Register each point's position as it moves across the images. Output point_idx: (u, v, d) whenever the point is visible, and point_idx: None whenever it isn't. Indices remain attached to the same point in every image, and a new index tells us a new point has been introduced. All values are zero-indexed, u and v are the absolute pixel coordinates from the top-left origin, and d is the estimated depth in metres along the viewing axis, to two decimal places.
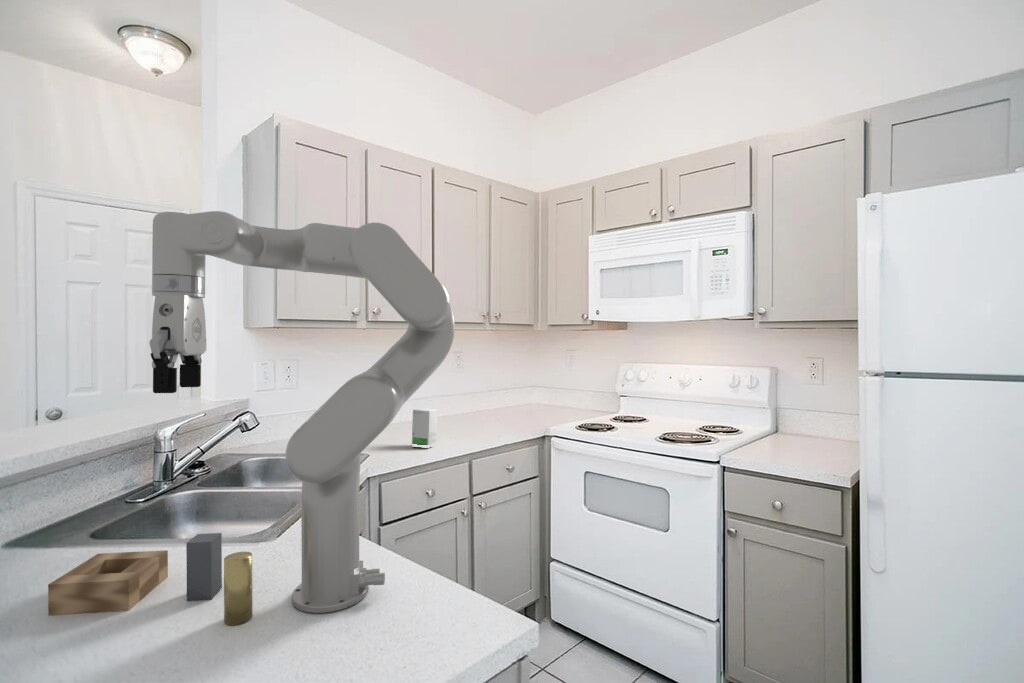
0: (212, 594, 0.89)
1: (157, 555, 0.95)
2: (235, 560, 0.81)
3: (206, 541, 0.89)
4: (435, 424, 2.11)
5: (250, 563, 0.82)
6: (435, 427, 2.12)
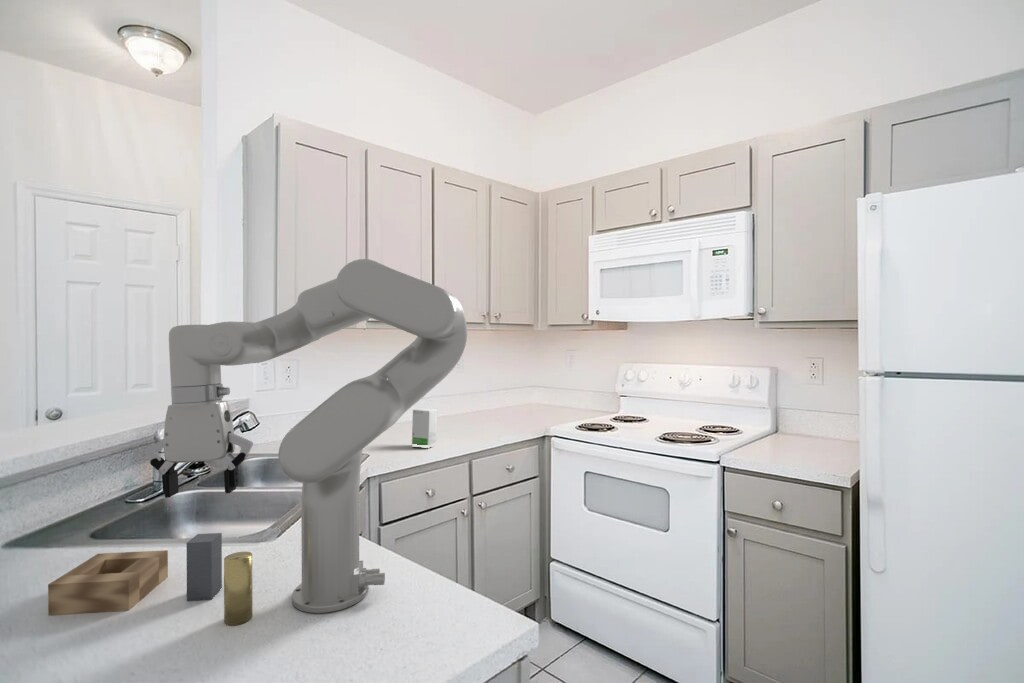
0: (212, 594, 0.89)
1: (157, 555, 0.95)
2: (234, 560, 0.81)
3: (206, 541, 0.89)
4: (435, 424, 2.11)
5: (250, 563, 0.82)
6: (435, 427, 2.12)
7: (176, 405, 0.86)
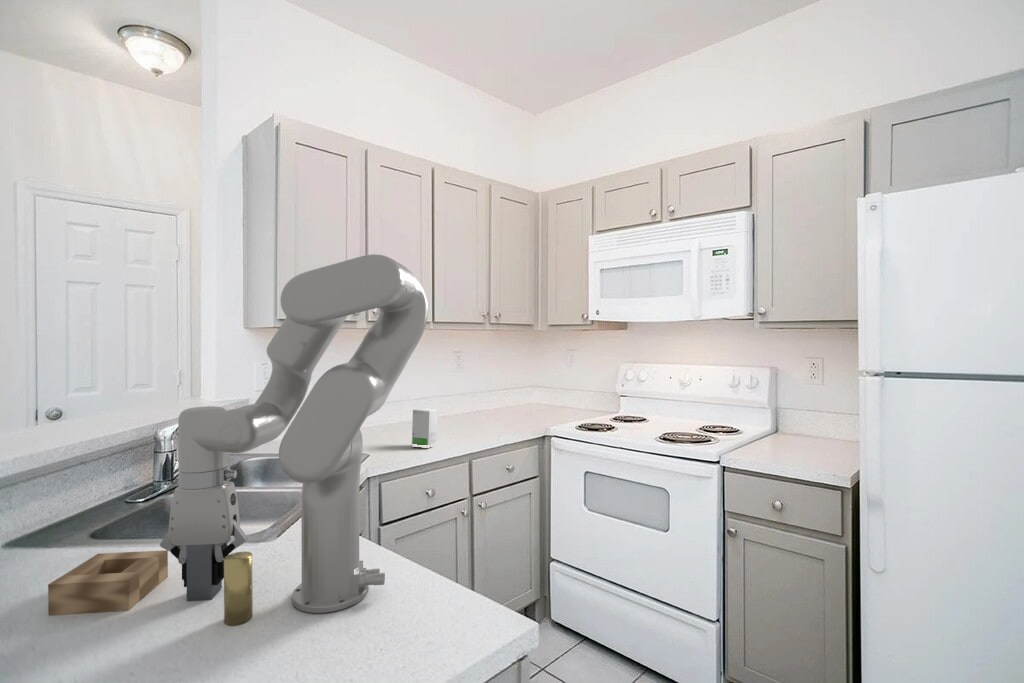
0: (212, 594, 0.89)
1: (157, 555, 0.95)
2: (234, 560, 0.81)
3: None
4: (435, 424, 2.11)
5: (250, 563, 0.82)
6: (435, 427, 2.12)
7: (183, 491, 0.87)
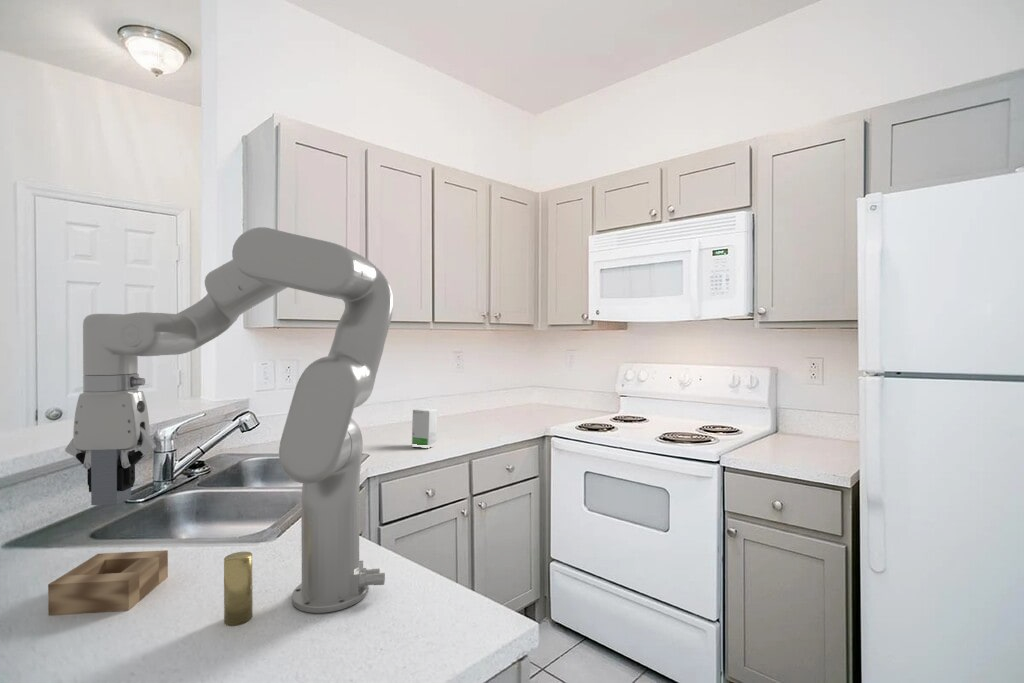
0: (117, 499, 0.89)
1: (157, 555, 0.95)
2: (234, 560, 0.81)
3: None
4: (435, 424, 2.11)
5: (250, 563, 0.82)
6: (435, 427, 2.12)
7: (86, 393, 0.86)
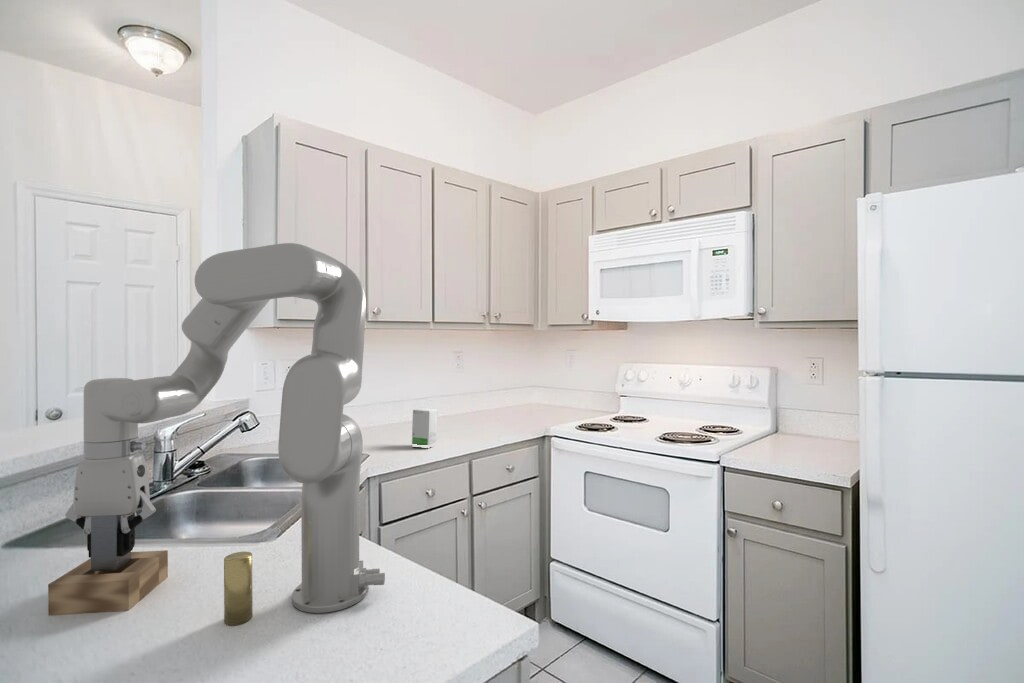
0: (117, 564, 0.89)
1: (157, 555, 0.95)
2: (234, 560, 0.81)
3: None
4: (435, 424, 2.11)
5: (250, 563, 0.82)
6: (435, 427, 2.12)
7: (87, 461, 0.86)
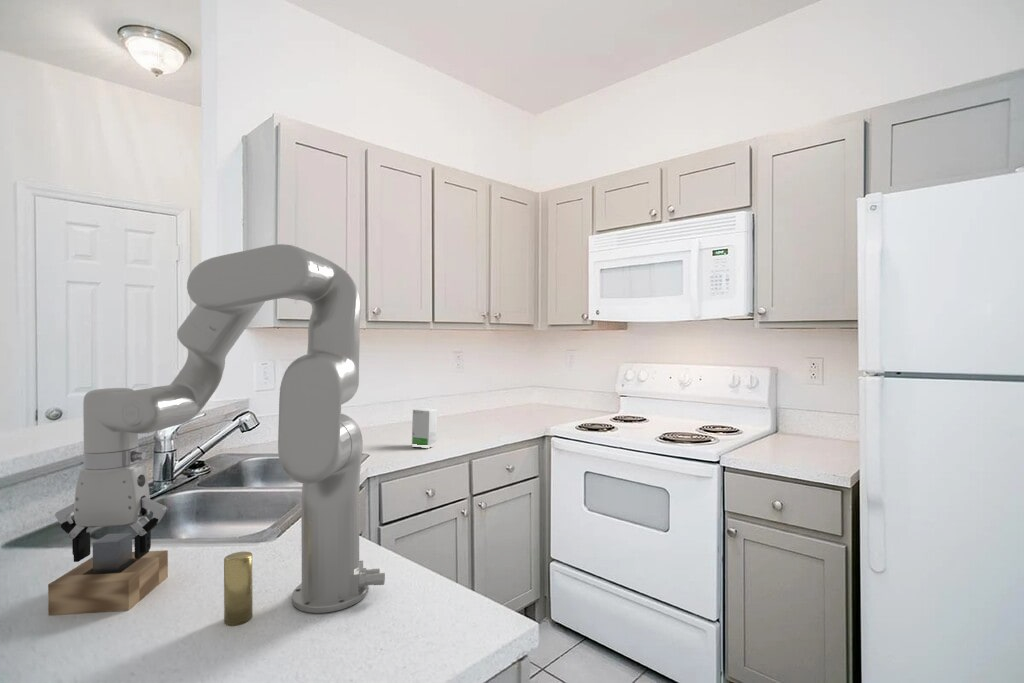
0: None
1: (157, 555, 0.95)
2: (235, 560, 0.81)
3: (112, 541, 0.89)
4: (435, 424, 2.11)
5: (250, 563, 0.82)
6: (435, 427, 2.12)
7: (87, 471, 0.86)
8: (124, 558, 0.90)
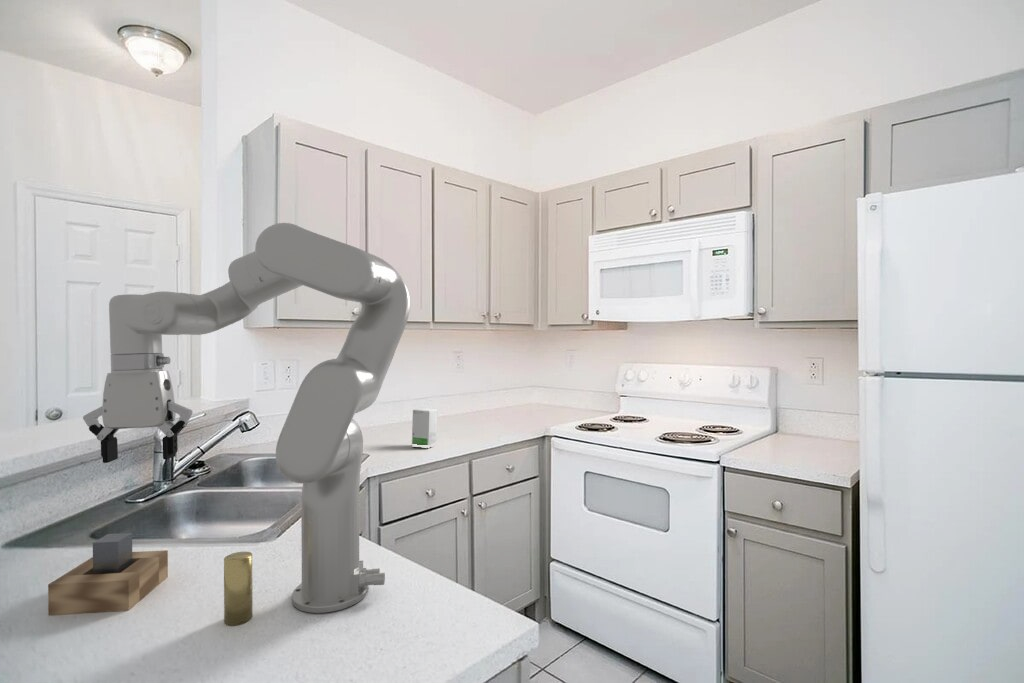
0: None
1: (157, 555, 0.95)
2: (234, 560, 0.81)
3: (113, 540, 0.89)
4: (435, 424, 2.11)
5: (250, 563, 0.82)
6: (435, 427, 2.12)
7: (115, 372, 0.89)
8: (124, 558, 0.90)
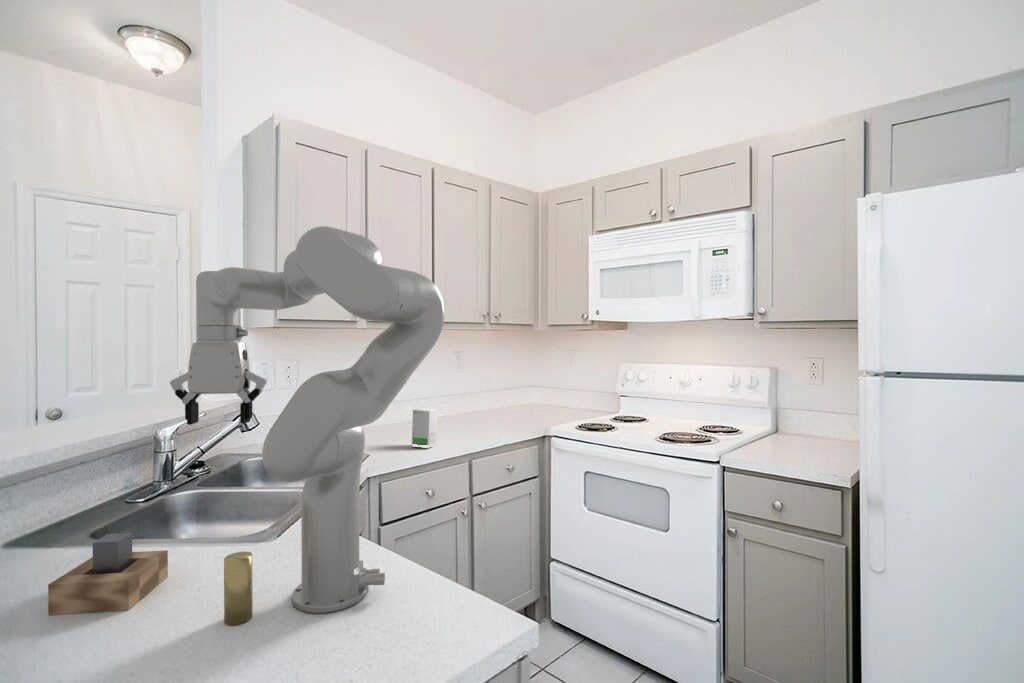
0: None
1: (157, 555, 0.95)
2: (235, 560, 0.81)
3: (113, 541, 0.89)
4: (435, 424, 2.11)
5: (250, 563, 0.82)
6: (435, 427, 2.12)
7: (201, 341, 0.97)
8: (124, 558, 0.90)
